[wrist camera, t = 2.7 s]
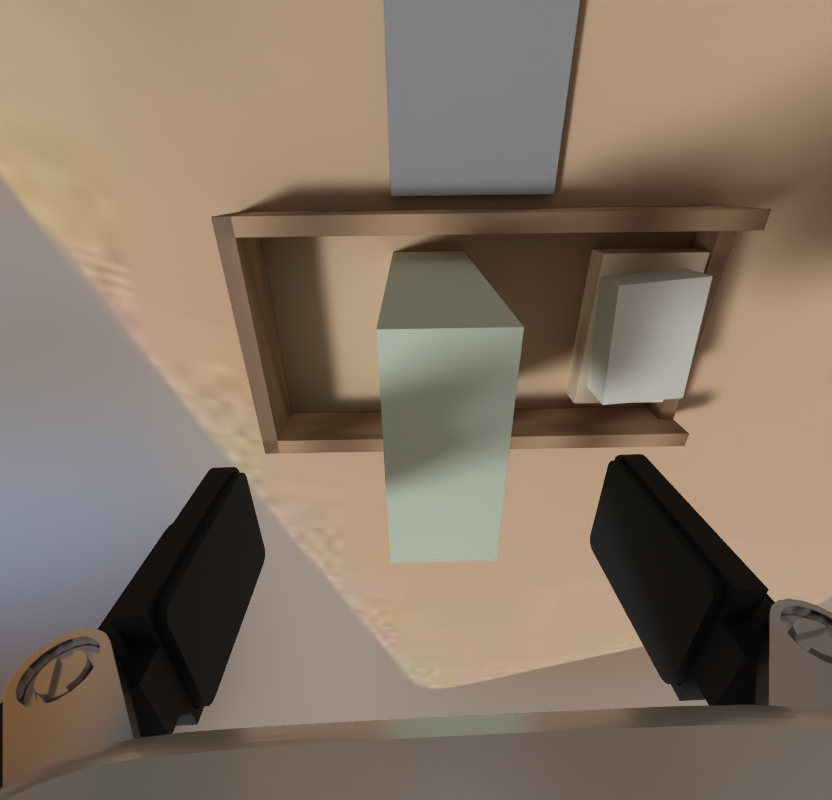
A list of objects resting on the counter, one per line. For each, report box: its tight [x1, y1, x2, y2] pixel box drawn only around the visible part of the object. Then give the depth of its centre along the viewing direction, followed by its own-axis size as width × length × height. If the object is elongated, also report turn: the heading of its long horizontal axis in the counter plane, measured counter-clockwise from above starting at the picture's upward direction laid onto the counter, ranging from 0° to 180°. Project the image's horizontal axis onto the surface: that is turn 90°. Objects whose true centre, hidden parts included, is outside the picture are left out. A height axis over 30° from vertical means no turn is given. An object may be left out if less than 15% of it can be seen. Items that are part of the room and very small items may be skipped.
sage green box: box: [376, 251, 524, 563], centre depth 17 cm, size 4×8×12 cm, turn 1°
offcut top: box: [588, 268, 713, 405], centre depth 20 cm, size 4×6×2 cm, turn 6°
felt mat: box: [384, 0, 580, 196], centre depth 16 cm, size 8×11×1 cm
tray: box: [211, 206, 771, 453], centre depth 21 cm, size 23×12×3 cm, turn 91°
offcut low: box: [566, 248, 710, 403], centre depth 22 cm, size 5×8×2 cm, turn 1°
